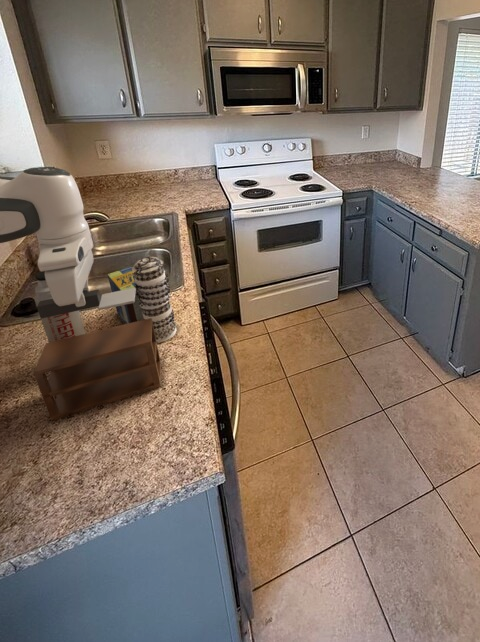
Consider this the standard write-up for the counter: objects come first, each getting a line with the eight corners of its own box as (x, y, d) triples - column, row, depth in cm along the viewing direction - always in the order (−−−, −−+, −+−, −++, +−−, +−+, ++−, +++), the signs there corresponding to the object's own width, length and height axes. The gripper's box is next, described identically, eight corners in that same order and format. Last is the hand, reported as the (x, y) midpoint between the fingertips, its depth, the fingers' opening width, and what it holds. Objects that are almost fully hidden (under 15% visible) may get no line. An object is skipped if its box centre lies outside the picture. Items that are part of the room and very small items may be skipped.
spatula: (38, 323, 74) (33, 311, 73) (46, 308, 79) (42, 296, 78) (134, 302, 81) (131, 291, 80) (136, 289, 86) (133, 278, 85)
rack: (51, 420, 81) (33, 372, 76) (61, 388, 90) (45, 343, 85) (160, 386, 90) (150, 341, 85) (160, 360, 98) (151, 317, 94)
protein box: (149, 301, 125) (141, 262, 119) (167, 321, 114) (159, 279, 109) (116, 315, 118) (106, 273, 113) (133, 337, 108) (122, 292, 102)
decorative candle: (182, 334, 108) (168, 261, 100) (149, 348, 103) (132, 272, 94) (173, 320, 115) (160, 250, 107) (142, 331, 110) (125, 259, 101)
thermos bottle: (90, 367, 96) (63, 276, 87) (54, 377, 93) (22, 284, 84) (94, 348, 103) (69, 262, 94) (61, 357, 100) (32, 269, 91)
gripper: (61, 228, 82) (76, 281, 87) (34, 268, 65) (54, 331, 69) (92, 224, 85) (105, 275, 89) (75, 261, 67) (92, 322, 72)
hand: (83, 300), depth 79 cm, fingers closed on spatula, 2 cm apart
